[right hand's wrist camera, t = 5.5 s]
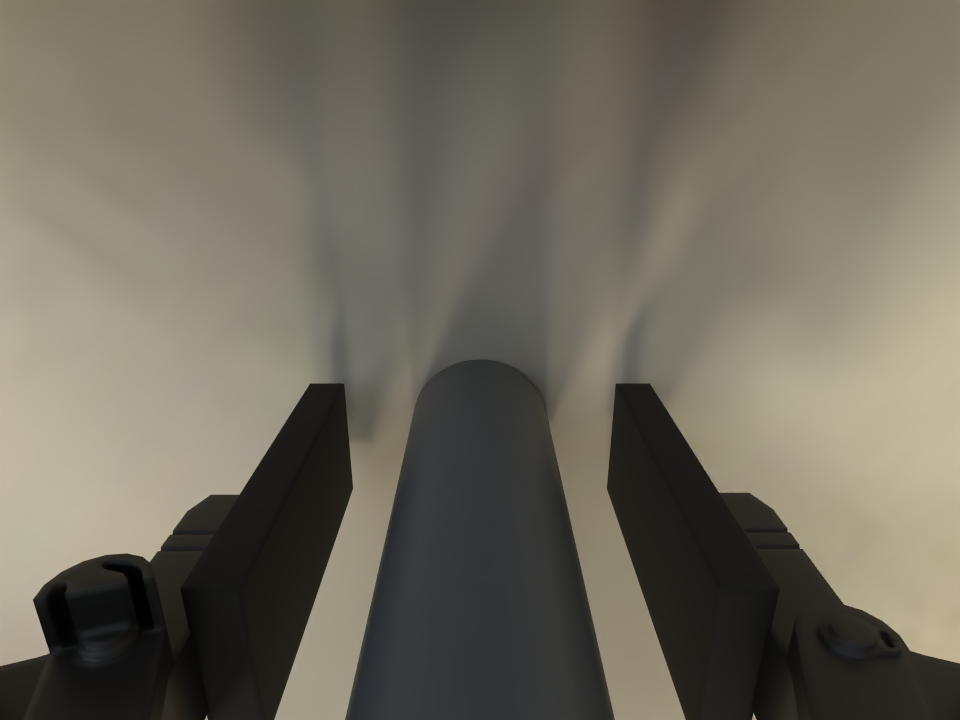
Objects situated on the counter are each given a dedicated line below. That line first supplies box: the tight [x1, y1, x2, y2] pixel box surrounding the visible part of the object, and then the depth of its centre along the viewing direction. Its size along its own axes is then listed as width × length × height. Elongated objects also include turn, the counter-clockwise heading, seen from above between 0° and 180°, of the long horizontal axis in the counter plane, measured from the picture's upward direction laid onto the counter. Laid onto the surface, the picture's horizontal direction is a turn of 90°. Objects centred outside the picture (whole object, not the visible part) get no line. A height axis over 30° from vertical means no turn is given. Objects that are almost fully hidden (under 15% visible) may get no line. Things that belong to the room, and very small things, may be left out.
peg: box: [345, 360, 615, 720], centre depth 10 cm, size 3×3×12 cm
